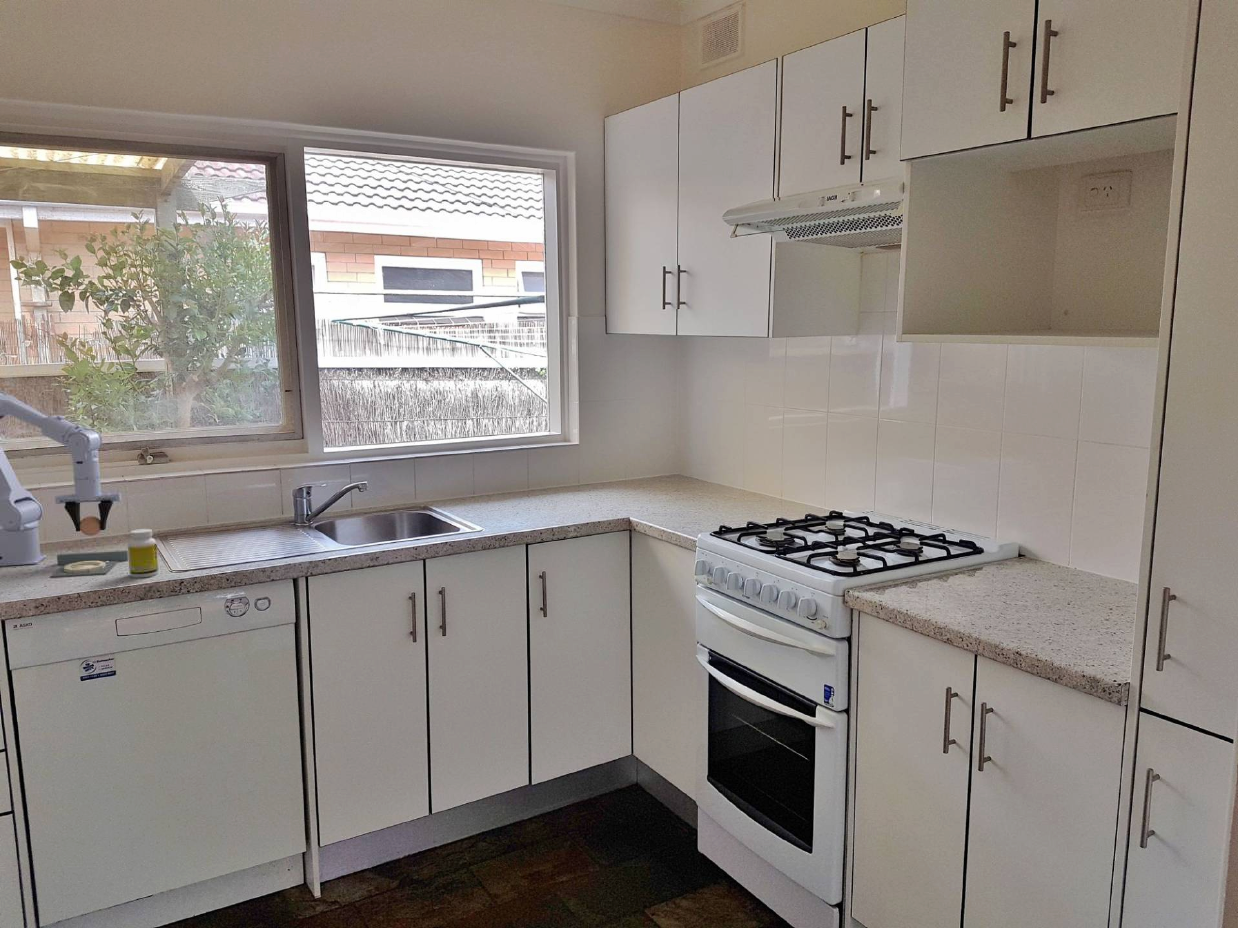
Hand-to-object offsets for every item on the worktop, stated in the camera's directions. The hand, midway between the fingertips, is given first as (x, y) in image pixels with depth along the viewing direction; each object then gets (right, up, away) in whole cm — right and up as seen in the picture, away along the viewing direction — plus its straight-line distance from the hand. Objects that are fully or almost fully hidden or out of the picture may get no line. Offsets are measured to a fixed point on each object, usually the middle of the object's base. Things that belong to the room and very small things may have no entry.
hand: (91, 530), depth 234 cm
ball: (0, -1, 0) cm, 1 cm away
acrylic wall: (0, -8, +1) cm, 8 cm away
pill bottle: (+19, -10, -11) cm, 24 cm away
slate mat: (+2, -9, -6) cm, 12 cm away
